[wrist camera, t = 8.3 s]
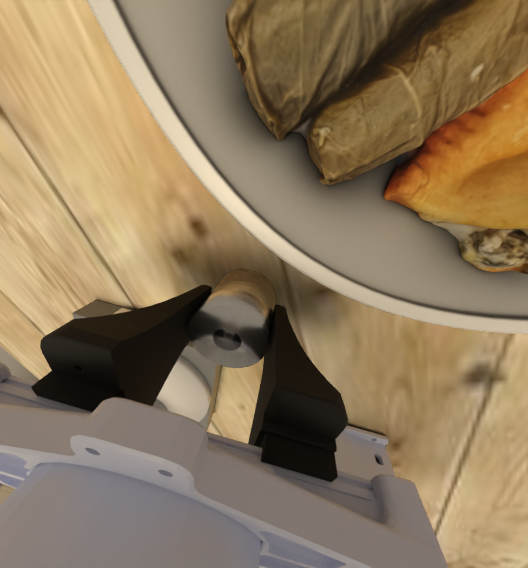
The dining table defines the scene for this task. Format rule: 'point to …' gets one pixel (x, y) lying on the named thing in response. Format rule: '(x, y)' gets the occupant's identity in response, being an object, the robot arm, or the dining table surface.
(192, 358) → the kitchen scale
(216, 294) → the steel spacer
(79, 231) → the dining table surface
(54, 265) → the dining table surface
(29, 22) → the dining table surface
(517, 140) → the bowl
